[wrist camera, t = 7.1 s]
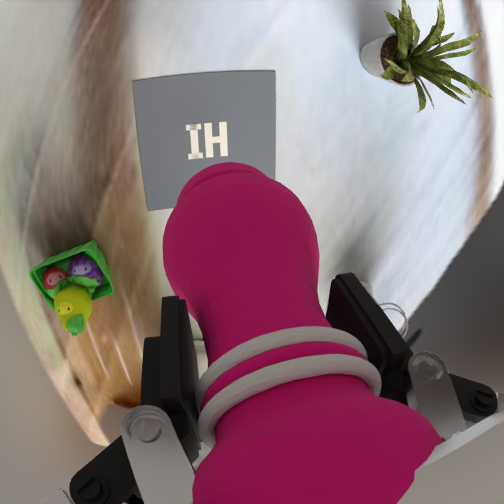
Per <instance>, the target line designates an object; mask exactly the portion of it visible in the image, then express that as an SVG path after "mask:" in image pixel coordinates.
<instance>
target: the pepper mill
mask: <svg viewBox="0 0 504 504" xmlns="http://www.w3.org/2000/svg"><path fill="white" fill-rule="evenodd" d="M163 261H164V268H165V272H166V276H167V278H168V280H169V283H170V285H171V287H172V289H173V291H174V293H175V295H176V296H177V295H178V296H179V299H185V300H186V304H187V310H188V312H189V313H190V314H191V315H192V316H193V318H194V319H195V320H196V321H197V322H198V325H199V327H200V330H201V332H202V335H203V340H204V345H205V350H206V354H207V359H208V369H207V370H206V371H205V372H204V374H203V375H202V376H201V378H200V380H199V382H198V384H197V387H196V391H195V400H196V404H197V407H198V411H199V414H200V416H199V419H198V432H199V435H200V438H201V440H202V441H203V442H204V443H205V444H206V446H207V447H209V448H210V449H212V450H211V451H210V452H209V454H208V455H207V456H206V457H205V458H204V460H203V461H202V462H201V463H200V465H199V466H198V468H197V470H196V472H195V478H194V482H193V486H192V495H193V504H397V503H398V502H399V500H400V499H401V498H402V497H403V495H404V494H405V493H406V492H407V490H408V489H409V488H410V486H411V484H412V483H413V481H414V478H415V470H416V469H418V468H419V467H420V466H421V465H422V464H423V463H424V462H425V461H426V460H427V459H428V457H429V456H430V455H431V453H432V452H433V450H434V449H435V446H437V445H439V444H441V443H443V442H442V439H441V437H440V436H439V434H438V433H437V431H436V430H435V428H434V427H433V425H432V424H431V422H430V421H429V419H427V418H426V417H424V416H423V415H421V414H420V413H418V412H417V411H415V410H413V409H412V408H410V407H408V406H406V405H404V404H402V403H399V402H397V401H394V400H390V399H386V398H382V397H379V395H380V391H381V377H380V374H379V372H378V370H377V369H376V367H375V366H374V365H372V364H371V363H370V362H368V356H367V352H366V350H365V348H364V346H363V345H362V343H361V342H360V341H359V340H358V339H356V338H355V337H354V336H352V335H351V334H349V333H347V332H345V331H342V330H338V329H334V328H332V326H331V325H330V324H329V322H328V321H327V320H326V317H325V315H324V313H323V311H322V309H321V306H320V304H319V299H318V293H317V286H318V273H319V249H318V242H317V235H316V232H315V229H314V226H313V222H312V220H311V218H310V216H309V214H308V213H307V211H306V209H305V207H304V206H303V204H302V203H301V201H300V200H299V198H298V197H297V196H296V195H295V194H294V193H293V192H292V191H291V190H289V189H288V188H287V187H285V186H284V185H282V184H281V183H279V182H277V181H275V180H273V179H271V178H269V177H267V176H266V175H265V174H264V173H263V172H261V171H260V170H258V169H256V168H255V167H253V166H250V165H247V164H244V163H236V162H224V163H218V164H214V165H211V166H209V167H207V168H205V169H203V170H201V171H200V172H198V173H197V174H195V175H194V176H192V178H191V179H190V180H189V181H188V182H187V183H186V184H185V185H184V187H183V189H182V191H181V193H180V194H179V197H178V199H177V203H176V206H175V208H174V210H173V211H172V213H171V215H170V217H169V219H168V222H167V224H166V227H165V231H164V235H163Z"/></svg>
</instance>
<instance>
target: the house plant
mask: <svg viewBox="0 0 504 504" xmlns="http://www.w3.org/2000/svg"><path fill="white" fill-rule="evenodd" d="M408 4H409V3H408ZM437 9H438V6H437ZM384 12H385V11H384ZM385 13H386V17H387V19H388V21H389V23H390V25H391V26H392V28H393V29H394V30H395V32H394V33H391V34H388V35H385V36H383V37H380V38H378V39H375V40H373V41H370V42H368V43H366V44H365V45H364V46H363V47H362V49H361V52H360V61H361V64H362V66H363V68H364V69H365V70H366V71H367V72H368V73H369V74H371V75H373V76H376V77H379V78H381V79H384V80H386V81H389V82H391V83H394V84H396V85H399V86H410V85H412V84H414V83H415V85H416V88H417V92H418V98H419V105H420V108H419V111H418V112H420V111H421V110H423V109H424V108H425V105H426V98H425V94H424V92H423V89H422V87H421V85H420V84H419V82H418V80H420V81H421V83H422V85H423V87H424V89H425V91H426V93H427V95H428V96H429V98H430V101H431V103H432V99H431V97H430V95H429V93H428V91H427V89H426V87H425V85H424V83H423V82H422V80H421V79H420V76H422V77H424V78H425V79H427V80H429V81H430V82H432V83H433V84H435V85H436V86H437V87H439V88H440V89H441V90H442V91H444V92H445V93H446V94H448V95H450V96H451V97H453V98H455V99H457V100H458V101H460V102H462V103H464V102H463V100H461V99H460V98H459V97H457V95H456V94H455V93H454V92H452V91H451V90H449V89H448V88H446V87H445V86H444V85H446V86H447V87H449V88H450V89H452V90H454V91H455V92H457V93H459V94H461V95H464V96H466V97H469V98H471V97H470V96H468V95H467V94H465V93H464V92H463V91H462V90H460V89H459V88H457V87H456V86H454V85H452V84H451V78H452V79H455V80H457V81H459V82H461V83H463V84H465V85H467V86H468V88H469V89H470V90H471V91H472V89H474V90H476V91H479V92H482V93H484V94H485V95H487V96H488V97H491V98H492V96H491V95H490V94H489V93H488V92H487V91H486V90H485V89H484V88H483V87H482V86H481V85H479V84H478V83H477V82H475V81H473V80H472V79H470V78H468V77H467V76H465V75H463V74H461V73H459V72H456V71H455V70H453V68H452V67H451V66H449V65H448V64H446V63H445V62H443V61H440V60H441V59H445V58H452V57H460V56H465V55H467V54H469V53H471V52H472V51H473V50H474V49H475V48H476V47H475V48H472V49H470V50H466V51H462V52H457V53H449V54H445V55H440V56H436V55H439V54H441V53H444V52H447V51H451V50H455V49H458V48H462V47H465V46H468V45H470V44H471V43H472V42H473V41H474V40H475V39H476V38H477V37H479V35H480V34H481V32H482V31H480V32H478V33H476V34H475V35H473V36H470V37H468V38H466V39H463V40H460V41H455V42H451V43H448V44H445V45H443V46H441V43H443V42H446V41H447V40H448V39H449V38H451V37H452V36H453V34H454V33H452V34H449V35H445V36H442V37H441V33H442V31H443V28H444V24H445V17H444V11H443V4H442V0H439V10H438V18H437V22H436V25H435V26H432V28H431V31H430V34H429V35H428V36H427V37H426V38H425V39H424V40H423V41H422V42H421V43H420V44H419V45H417V43H418V40H419V36H420V30H419V28H418V27H417V24H416V22H415V20H414V19H412V16H411V9H410V7H409V5H408V8H407V5H406V1H405V0H402V12H401V11H400V10H399V18H400V19H399V20H398V18H397V17H395V16H394V15H392V14H390V13H388V12H385ZM413 31H414V40H413ZM439 36H440V37H439ZM437 44H439V45H438V46H437V47H436V48H434V49H433V50H430V51H428V50H429V49H430V48H431V47H432V46H434V45H437ZM440 46H441V47H440ZM427 51H428V52H427ZM433 56H434V57H433ZM442 84H444V85H442ZM472 92H473V91H472ZM472 99H473V98H472ZM464 104H465V103H464ZM432 105H433V103H432ZM466 105H467V104H466ZM433 107H434V106H433ZM434 110H435V109H434ZM418 112H417V113H418Z"/></svg>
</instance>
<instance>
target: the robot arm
mask: <svg viewBox="0 0 504 504" xmlns="http://www.w3.org/2000/svg"><path fill="white" fill-rule="evenodd" d="M326 320H327V321H328V322H329V324H330V325H331V326H332V328H334V329H338V330H342V331H345V332H347V333H349V334H351V335H352V336H354V337H355V338H356V339H358V340H359V341H360V342H361V343H362V345H363V346H364V348H365V350H366V352H367V356H368V362H370V363H371V364H372V365H374V366H375V367H376V369H377V370H378V372H379V374H380V377H381V391H380V395H379V397H382V398H386V399H390V400H394V401H397V402H399V403H402V404H404V405H406V406H408V407H410V408H412V409H413V410H415V411H417V412H418V413H420V414H421V415H423V416H424V417H426V418H427V419H429V421H430V422H431V424H432V425H433V427H434V428H435V430H436V431H437V433H438V434H439V436H440V437H441V439H442V442H443V443H441V444H439V445H437V446H435V449H434V450H433V452H432V453H431V455H430V456H429V457H428V459H427V460H426V461H425V462H424V463H423V464H422V465H421V466H420V467H419V468H418V469H416V470H415V478H414V481H413V483H412V484H411V486H410V488H409V489H408V490H407V492H406V493H405V494H404V495H403V497H402V498H401V499H400V500H399V502H398V503H397V504H504V393H501V392H497V394H495V393H494V391H493V390H492V389H491V388H490V387H488V386H486V385H484V384H481V383H478V382H474V381H471V380H468V379H465V378H462V377H459V376H456V375H452V374H450V373H448V370H447V367H446V365H445V363H444V361H443V360H442V359H441V358H440V357H439V356H437V355H435V354H433V353H430V352H423V351H422V352H417V353H415V354H413V353H412V351H411V350H410V348H409V347H408V345H407V344H406V342H405V341H404V340H403V338H402V337H401V335H400V334H399V332H398V331H397V330H396V328H395V327H394V325H393V324H392V323H391V321H390V320H389V318H388V317H387V316H386V314H385V313H384V311H383V310H382V309H381V307H380V306H379V305H378V304H376V303H375V301H374V300H373V299H372V297H371V296H370V295H369V293H368V292H367V291H366V289H365V288H364V286H363V285H362V284H361V283H360V281H359V280H358V279H357V277H356V276H355V275H354V274H353V273H345V274H338V275H337V276H336V278H335V279H333V280H332V282H331V288H330V294H329V300H328V306H327V312H326ZM207 369H208V359H207V354H206V350H205V345H204V341H199V340H197V341H194V340H193V335H192V330H191V325H190V320H189V315H188V310H187V304H186V300H185V299H179V296H178V295H177V296H168V297H163V298H162V310H161V332H160V336H158V337H147V338H145V340H144V349H143V363H142V380H141V403H140V406H138V407H136V408H134V409H132V410H130V411H129V412H128V413H127V414H126V415H125V417H124V418H123V420H122V423H121V434H122V435H121V436H120V437H118V438H117V439H116V440H115V441H114V442H113V443H111V444H110V445H109V446H108V447H107V448H106V449H104V450H103V451H102V452H101V453H100V454H99V455H98V456H96V457H95V458H94V459H93V460H92V461H90V462H89V463H88V464H87V465H85V466H84V467H83V468H82V469H81V470H79V471H78V472H77V473H76V474H75V475H74V477H73V478H72V479H71V482H70V486H69V487H68V488H66V489H65V490H63V489H61V488H60V489H59V490H58V491H56V492H54V493H52V494H51V495H49V496H48V497H46V498H44V499H43V500H41V501H39V502H37V503H36V504H193V495H192V486H193V482H194V478H195V472H196V470H197V468H198V466H199V465H200V463H201V462H202V461H203V460H204V458H205V457H206V456H207V455H208V454H209V452H210V451H211V450H212V449H210V448H209V447H207V446H206V444H205V443H204V442H203V441H202V440H201V438H200V435H199V432H198V419H199V416H200V414H199V411H198V407H197V404H196V400H195V391H196V387H197V384H198V382H199V380H200V378H201V376H202V375H203V374H204V372H205V371H206V370H207Z"/></svg>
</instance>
